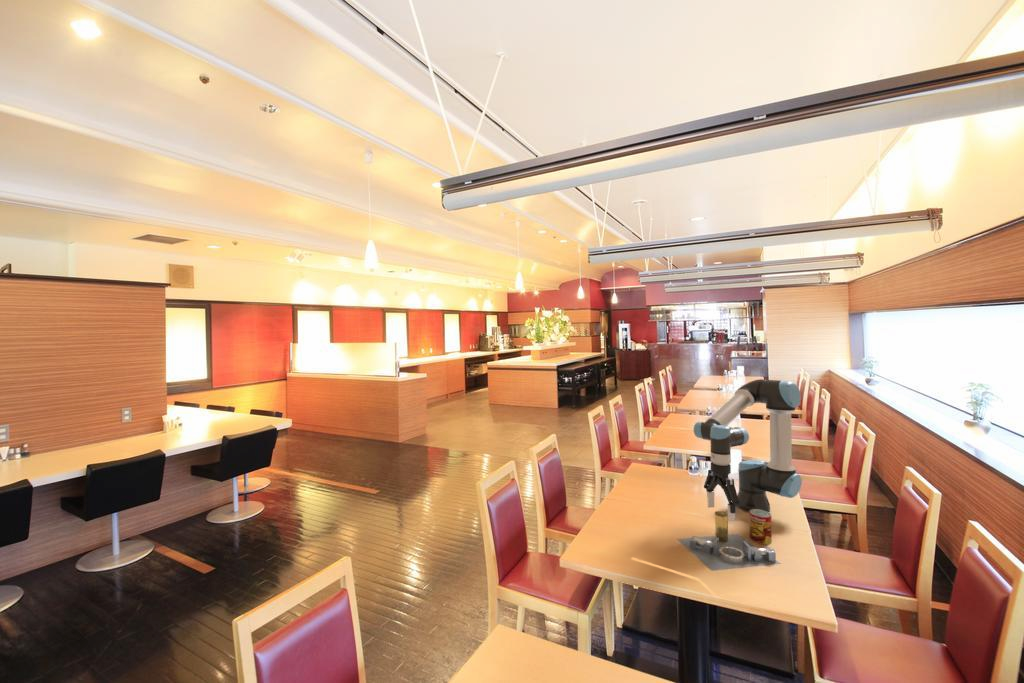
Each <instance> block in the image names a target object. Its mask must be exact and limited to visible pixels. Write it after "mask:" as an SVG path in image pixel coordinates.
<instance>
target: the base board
mask: <svg viewBox="0 0 1024 683" xmlns="http://www.w3.org/2000/svg"><path fill="white" fill-rule="evenodd" d="M698 537H699V539H703V540H706V539H707V540H711V541H712V542H714V540H715V535H710V536H698ZM677 541H679V542H680V543H681V544H682V545H683V546H684V547H685V548H686V549H687V550H688V551H689V552H690V553H692V554H693V555H694V556H695V557H696V558H697V559H698V560H699V561H701V563H703V564H704V565H705V566H706V567H707V568H708V569H709V570H711V572H712V571H721V570H731V569H741V568H743V569H744V568H753V567H761V566H771V565H772V566H773V565H781V564H782V563H781V562H780V561H778V560H777V559H776V562H768V561H767V559H766V558H765V557H764V556H761V557H762V562H756V561H754V560H753V559H752V558H751V561H748V560H747V559H746V558H745V561H744V562H743V563H731V562H728V561H725V560H723V559H722V558H721V557H720V548H722V547H733V548H736V549H739V550H741V551H742V552H743V541H746V542H747V544H748V545H749V546H751V547H757V548H759V547H758V546H756V545H755V544H753V543H752V542H750V540H748V539H747V538H744V537H743V536H742V535H740V533H739V534H738V533H733V534H732V533H731V534H728V542H719V552H718V554H717V556H714V550H712V551H711V553H710V554H708V553H704V552H703V547H701V546H699V547H698V549H697V550H693V549H690V537H687V538H677ZM724 554H726V555H729V556H732V557H740V556H739V555H736V554H733V553H724Z"/></svg>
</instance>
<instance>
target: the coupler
mask: <svg viewBox="0 0 1024 683" xmlns="http://www.w3.org/2000/svg"><path fill="white" fill-rule="evenodd" d="M714 526H715V527H714V528H715V529H714V532H715V535H714V536H715V538H716V537H719V542H728V535H729V521H728V512H725V511H720V510H718V511H715V512H714Z"/></svg>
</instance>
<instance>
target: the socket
mask: <svg viewBox="0 0 1024 683" xmlns="http://www.w3.org/2000/svg"><path fill="white" fill-rule="evenodd" d="M724 553H733V554H736V555H739V556H740V557H732V556H729V555H726V554H724ZM720 557H721V558H722V559H723V560H725V561H728V562H731V563H743V562H744V561H745V555H744V553H743V552H742V551H741V550H739V549H736V548H733V547H722V548H720Z"/></svg>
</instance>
